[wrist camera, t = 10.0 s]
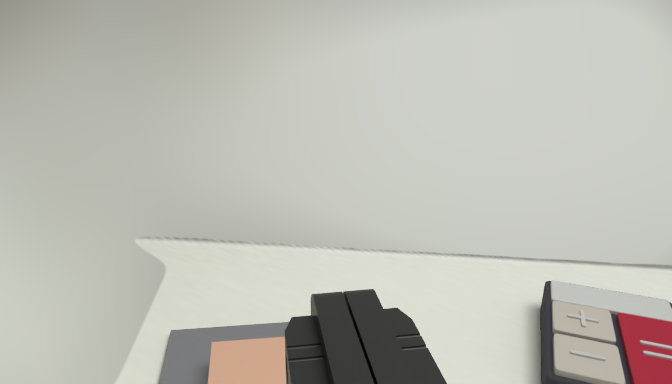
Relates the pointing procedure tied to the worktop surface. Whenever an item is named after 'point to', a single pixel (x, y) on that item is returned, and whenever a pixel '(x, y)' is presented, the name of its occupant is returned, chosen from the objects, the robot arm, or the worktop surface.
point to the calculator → (604, 336)
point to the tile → (248, 361)
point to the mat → (206, 349)
